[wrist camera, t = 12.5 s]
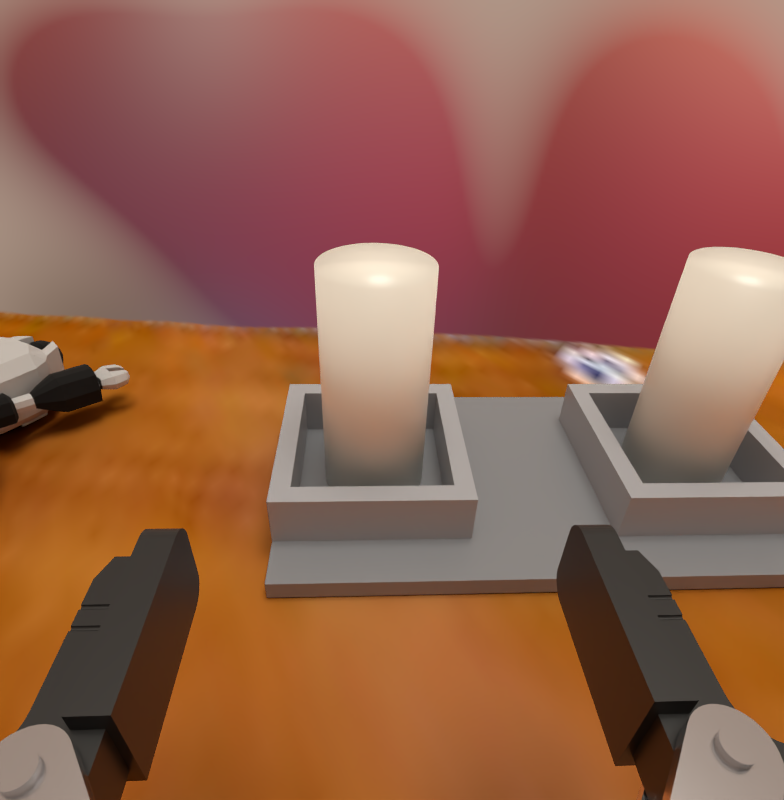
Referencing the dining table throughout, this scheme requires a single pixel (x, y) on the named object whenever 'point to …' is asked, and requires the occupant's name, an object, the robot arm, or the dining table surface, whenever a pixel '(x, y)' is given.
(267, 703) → the dining table surface
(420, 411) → the cream white cylinder
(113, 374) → the robot toy
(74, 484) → the dining table surface
